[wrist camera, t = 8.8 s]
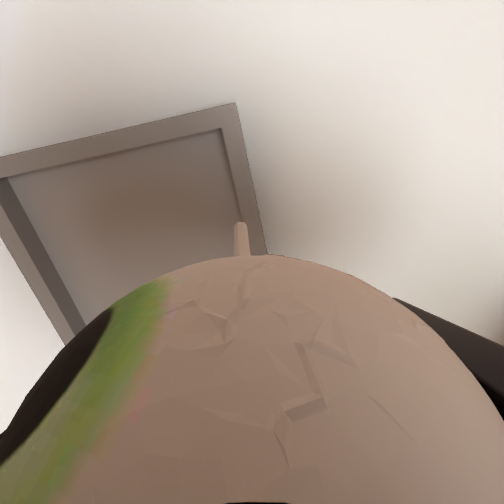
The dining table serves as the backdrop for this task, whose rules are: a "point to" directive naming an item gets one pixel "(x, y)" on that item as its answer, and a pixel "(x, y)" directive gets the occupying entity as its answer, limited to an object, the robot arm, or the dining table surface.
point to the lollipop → (255, 398)
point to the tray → (125, 210)
